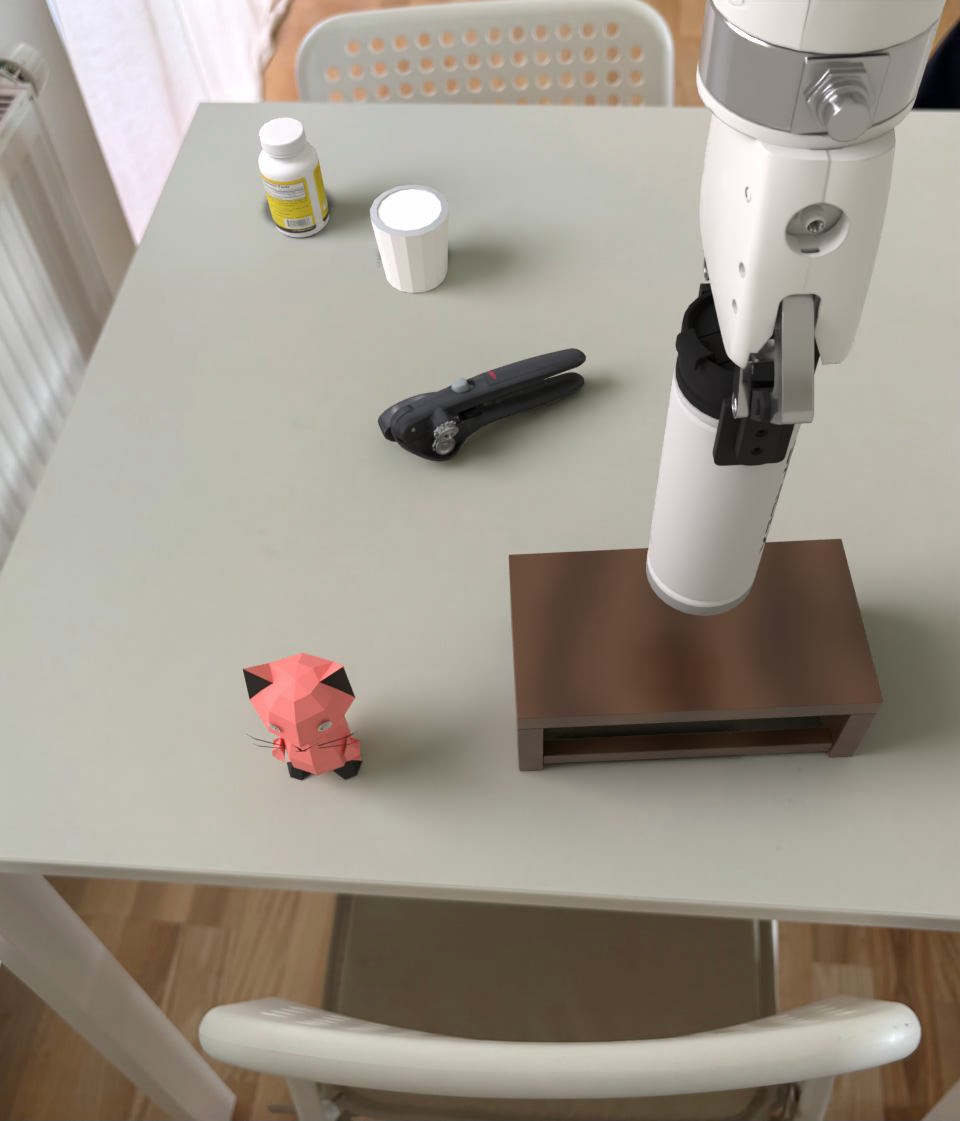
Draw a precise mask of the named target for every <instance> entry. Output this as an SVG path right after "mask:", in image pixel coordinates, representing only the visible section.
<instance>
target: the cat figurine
mask: <svg viewBox="0 0 960 1121" xmlns="http://www.w3.org/2000/svg"><path fill="white" fill-rule="evenodd" d="M242 673H243V678H244V681H245V686H246V691H247V696H248V700H249V701H250V703H251V705H252V706H253V709H254V710H255V711H256V713H257V714H258V716H259V718H260V719H261V721H262V723H263V724H264V726H265V727H266V729H267V731H268V732H269V733H271V734H273V735H275V736H277V737H278V738H275V739H273V741H272V742H271V741H267V740H264V739H259V738H256V737H253V736H252V735H250V734H248V733H245V732H244V733H245V734H246V735H247V736H249V737H250V738H251V739H254V740H255V741H259V742H264V743H268V744H272V745H273V746H268V745H258V744H256V743H254V745H255V746H257V747H261V748H270V749H271V748H272V750H271V753H272V757H273V758H276V760H279V761H281V762H283V763H285V756H286V753H287V756H288V760H287V761H286V765H287V769H288V773H289V777H290V778H292V779H295V780H299V781H303V780H305V779H306V778H308V777H309V776H310V775H312V774H314V775H316V776H319V775H323V774H326V773H328V772H331V771H332V772H334V773H335V774H336V775H338V776H339V777H340V778H341V779H343V780H348V779H351V778H354V777H356V776H358V774H359V771H360V769H361V766H362V764H363V759H362V756H361V744H362V743H361V742H360V739H358V738H356V737H353V736H352V735H354V734H356V733H357V732H358V730H356V731H354V732H352V731H351V729H350V726H349V723H348V722H347V718H346V714H347V712H348V710H349V709H350V707H351V705H353V703H354V701H355V699H356V697H357V696H356V695H355V693H354V690H353V687H352V684H351V682H350V679H349V677H348V675H347V674H348V673H347V672H346V669H345V666H344V665H342V664H340V663H338V662H336V661H334V660H330V659H326V658H323V657H319V656H316V655H312V654H308V653H305V652H300V653H297V654H294V655H290V656H287V657H285V658H281V659H278V660H275V661H271V662H268V663H263V664H259V665H254V666H250V667H249V666H248V667H244V668H242ZM248 742H249V743H250V741H248Z"/></svg>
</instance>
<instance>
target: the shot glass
mask: <svg viewBox="0 0 960 1121" xmlns="http://www.w3.org/2000/svg"><path fill="white" fill-rule="evenodd" d="M449 208H450V207H449V203H448V200H447V198H446V197H445V196H444V195H443V194H442V193H441V192H440V191H438V190H437V189H434V188H432V187H430V186H427V185H422V184H421V185H419V184H405V185H397V186H395V187H392V188H390V189H388V190H385V191H383V192H382V193H381V194H379V195H378V196H377V197H376V198H375V199H374V200H373V202H372V204H371V206H370V208H369V215H370V217H369V218H370V222H371V225H372V229H373V233H374V238H375V242H376V245H377V248H378V251H379V255H380V258H381V263H382V266H383V270H384V274H385V277H386V280H387V282H388V283H389V284H390V285H391V287H393V288H394V289H396V290H398V291H400V292H402V293H409V294H419V293H427V292H428V291H431V290H433V289H435V288H437V287H438V286H440V284H442V283H443V282H444V281H445V280H446V276H447V273H448V262H449V261H448V258H449V257H448V255H449V254H448V253H449V218H450V210H449Z"/></svg>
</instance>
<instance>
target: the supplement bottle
mask: <svg viewBox="0 0 960 1121" xmlns="http://www.w3.org/2000/svg"><path fill="white" fill-rule="evenodd" d="M258 135H259V136H258V137H259V140H260V145H261V148H262V150H261V151H260V152H259V153H260V154H259V155H258V167H259V172H260V176H261V179H262V183H263V184H262V185H263V187H264V191H265V194H266V199H267V203H268V206H269V207H268V208H269V210H270V214H271V217H272V222H273V223H274V226H275V228H276V230H277V231H278V232H280V233H281V234H283V235H285V236H286V237H289V238H290V237H291V238H306V237H310V236H313V235H316V234H317V233H319V232H320V231H322V230H323V229H324V228H325V227H326V226H327V225H328V223H329V220H330V208H329V203H328V199H327V194H326V188H325V184H324V179H323V174H322V170H321V164H320V160H319V159H320V158H319V156H318V152H317V150H316V148H315V146H314V145H313V144H311V143H310V142H309V141H307V134H306V131H305V127H304V124H303V123H302V122H301V121H300V120H298V119H296V118H292V117H277V118H274V119H271V120H269V121H268V122H266V123H264V124H263V125H262V126H261V127H260V129H259V132H258Z"/></svg>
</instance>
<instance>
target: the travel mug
mask: <svg viewBox="0 0 960 1121" xmlns="http://www.w3.org/2000/svg"><path fill="white" fill-rule="evenodd" d="M769 339H774V330H773V335H772V336H771V337H770V338H769ZM674 345H675V351H676V352H677V357H676V359H675V363H674V367H673V373H672V374H673V376H672V380H671V387H670V394H669V395H670V396H669V402H668V408H667V415H666V423H665V430H664V437H663V441H662V442H663V443H662V449H661V457H660V462H659V472H658V477H657V478H658V479H657V484H656V492H655V499H654V505H653V513H652V519H651V526H650V527H651V528H650V533H649V541H648V547H647V548H648V553H647V560H646V573H647V578H648V581H649V583H650V585H651V587H652V589H653V590H654V592H655V593H656V594H657V596H658V597H659V598H660V599H662V600H663V601H664V602H665V603H666V604H668V605H669V606H671V607H673V608H674V609H677V610H679V611H682V612H684V613H688V614H692V615H702V616H708V615H716V614H720V613H723V612H727V611H729V610H731V609H733V608H734V607H736V606H737V605H739V604H740V603H741V602H742V601H743V600H744V599H745V598H746V597H747V595H748V594H749V592H750V590H751V588H752V586H753V582H754V579H755V576H756V571H757V569H758V566H759V562H760V559H761V556H762V552H763V549H764V546H765V542H767V538H768V536H769V532H770V528H771V526H772V522H773V518H774V515H775V512H776V509H777V505H778V501H779V499H780V495H781V492H782V489H783V486H784V482H785V480H786V479H785V478H786V475H787V473H788V468H789V465H790V462H791V459H792V456H793V452H794V449H795V445H796V442H797V439H798V436H799V432H800V429H801V426H802V424H795V425H794V429H793V432H792V436H791V439H790V442H789V446H788V449H787V453H786V456H785V459H784V460H783V461H781V462H779V463H770V464H763V465H756V466H745V465H731V466H718V465H716V464H715V463H714V459H713V453H712V452H713V447H714V442H715V437H716V432H717V428H718V423H719V418H720V413H721V408H722V403H723V399H726V398H728V397H732V389H733V376H734V362H733V361H732V360H731V359H730V358H729V357H728V355H727V353H726V350H725V347H724V343H723V339H722V335H721V330H720V326H719V322H718V317H717V313H716V308H715V303H714V299H713V294H712V291H710V292H707V293H705V294H703V295H701V296H700V297H698V296H697V297H696V298H695V299H694V300H693V301H691V303H690V304H689V305H688V307H687V308H686V310H685V311H684V314H683V317H682V321H681V328H680V332H679V333H678V334H677V335H676V339H675V344H674ZM820 358H821V357H820V354H819V350H818V346H817V343H816V339H815V336H814V375H815V374H816V371H817V367H818V364H819V361H820ZM753 365H754V366H753V377H752V388H770V387H774V363H763V364H753Z"/></svg>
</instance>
